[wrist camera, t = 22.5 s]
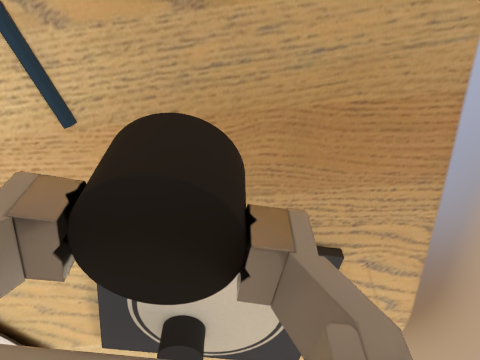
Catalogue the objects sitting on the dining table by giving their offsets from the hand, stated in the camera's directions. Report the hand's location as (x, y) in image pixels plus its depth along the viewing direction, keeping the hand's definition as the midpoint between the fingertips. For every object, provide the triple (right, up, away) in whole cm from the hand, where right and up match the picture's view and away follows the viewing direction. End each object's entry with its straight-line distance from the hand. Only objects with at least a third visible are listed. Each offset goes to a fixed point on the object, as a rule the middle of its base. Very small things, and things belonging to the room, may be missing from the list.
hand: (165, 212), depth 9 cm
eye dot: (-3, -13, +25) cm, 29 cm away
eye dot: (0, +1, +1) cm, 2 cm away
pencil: (-12, +11, +12) cm, 20 cm away
